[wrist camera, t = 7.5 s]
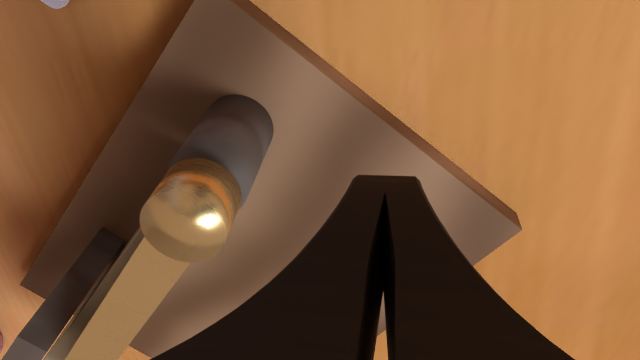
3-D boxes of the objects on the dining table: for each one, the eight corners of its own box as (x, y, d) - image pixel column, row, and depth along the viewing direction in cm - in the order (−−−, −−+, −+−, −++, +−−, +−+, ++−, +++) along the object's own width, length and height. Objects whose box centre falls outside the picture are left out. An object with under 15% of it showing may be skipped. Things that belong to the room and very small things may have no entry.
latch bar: (185, 142, 16) (161, 176, 14) (256, 186, 17) (240, 224, 15) (51, 359, 23) (24, 399, 21) (104, 385, 24) (82, 426, 22)
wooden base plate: (33, 269, 29) (-75, 394, 22) (216, -26, 19) (121, 40, 13) (266, 402, 33) (234, 541, 26) (516, 213, 23) (565, 358, 16)
